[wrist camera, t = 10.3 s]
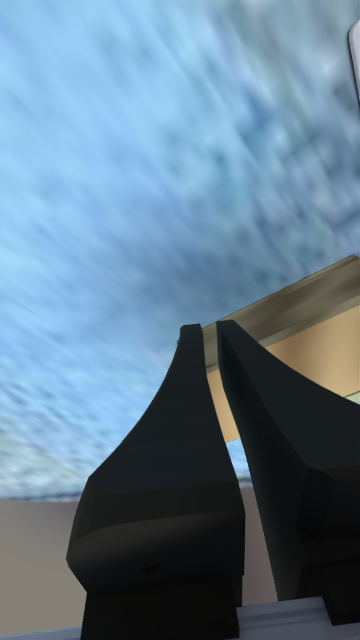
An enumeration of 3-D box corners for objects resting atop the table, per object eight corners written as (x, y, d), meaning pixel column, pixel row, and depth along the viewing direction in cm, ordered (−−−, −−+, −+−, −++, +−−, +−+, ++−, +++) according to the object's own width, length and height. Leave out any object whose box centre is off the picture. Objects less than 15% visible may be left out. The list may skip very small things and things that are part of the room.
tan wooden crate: (353, 254, 21) (403, 285, 17) (370, 327, 24) (416, 367, 20) (177, 340, 24) (181, 385, 19) (214, 395, 27) (225, 443, 23)
